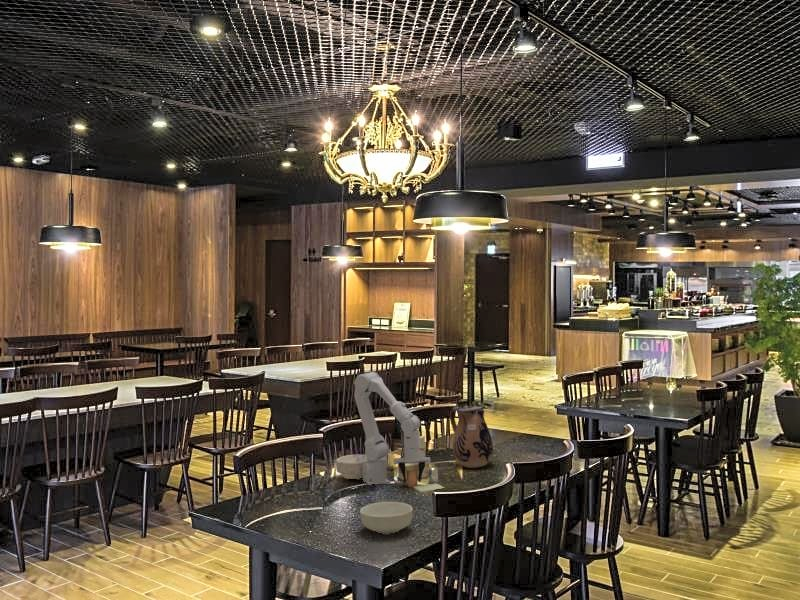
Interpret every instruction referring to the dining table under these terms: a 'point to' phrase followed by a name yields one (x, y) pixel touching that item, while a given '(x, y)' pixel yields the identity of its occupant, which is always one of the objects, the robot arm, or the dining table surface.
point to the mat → (428, 487)
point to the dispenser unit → (413, 466)
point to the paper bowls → (351, 466)
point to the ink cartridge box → (421, 445)
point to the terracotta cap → (412, 478)
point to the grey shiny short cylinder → (432, 475)
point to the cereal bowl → (386, 516)
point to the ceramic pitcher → (471, 437)
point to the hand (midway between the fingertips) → (412, 481)
